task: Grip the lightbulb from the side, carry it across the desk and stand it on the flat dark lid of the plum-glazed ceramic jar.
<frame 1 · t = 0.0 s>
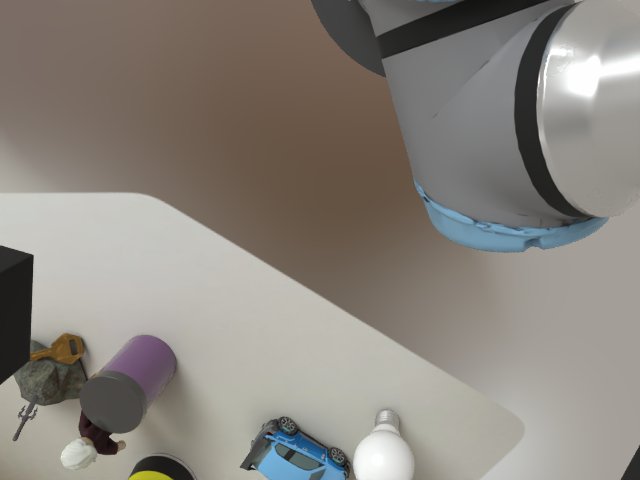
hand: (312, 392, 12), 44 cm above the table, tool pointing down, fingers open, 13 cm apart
sword in stone: (51, 369, 70), on the table, touching key
jar: (149, 359, 67), on the table
lightbulb: (387, 415, 64), on the table
toy car: (303, 446, 68), on the table
key: (48, 353, 67), point 2 cm above the table, touching sword in stone
grandmother figurine: (129, 393, 70), on the table
flashlight: (166, 479, 73), on the table
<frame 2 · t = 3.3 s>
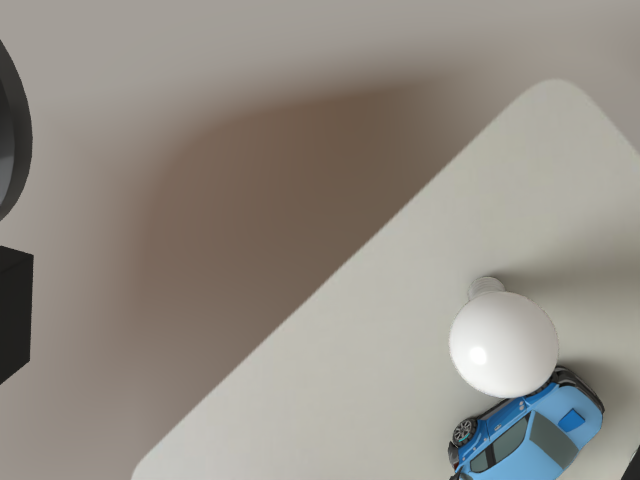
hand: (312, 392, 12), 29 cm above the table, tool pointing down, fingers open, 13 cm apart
lightbulb: (485, 288, 41), on the table
toy car: (518, 417, 44), on the table
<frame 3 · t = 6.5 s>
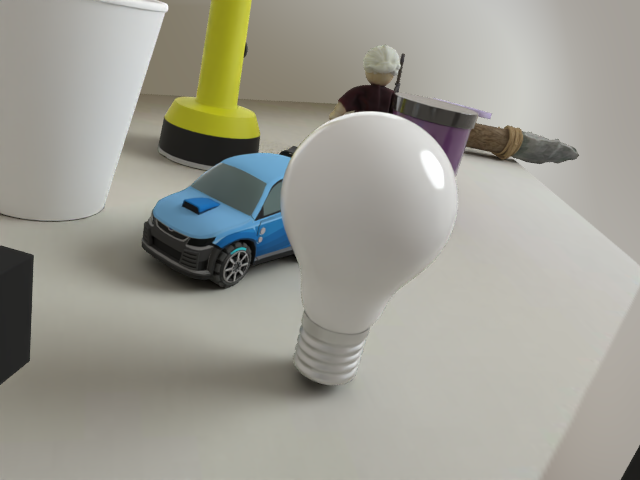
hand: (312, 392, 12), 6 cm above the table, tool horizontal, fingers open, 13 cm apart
jar: (406, 204, 50), on the table
lightbulb: (320, 381, 23), on the table
stone tool: (404, 123, 80), point 3 cm above the table
toy car: (242, 256, 32), on the table
grandmother figurine: (351, 183, 53), on the table
cup: (44, 201, 33), on the table
flashlight: (208, 158, 50), on the table
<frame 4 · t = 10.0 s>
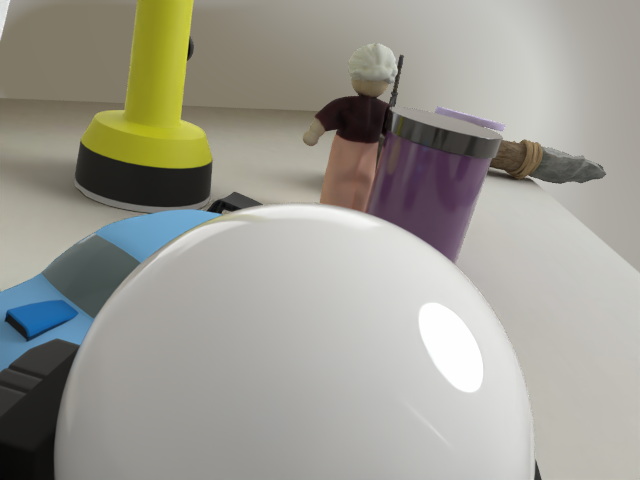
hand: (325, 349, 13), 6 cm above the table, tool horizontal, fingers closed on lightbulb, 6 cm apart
sword in stone: (370, 191, 51), on the table, touching key
jar: (404, 254, 38), on the table
stone tool: (403, 136, 68), point 3 cm above the table
toy car: (141, 375, 20), on the table
toy table: (458, 155, 79), on the table
grandmother figurine: (333, 221, 41), on the table
flashlight: (144, 191, 38), on the table
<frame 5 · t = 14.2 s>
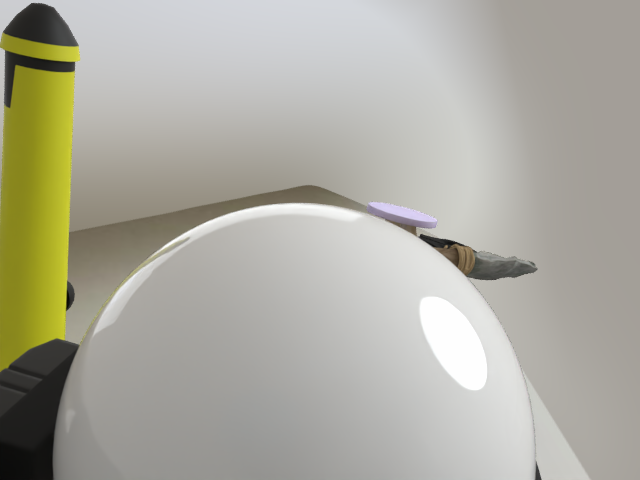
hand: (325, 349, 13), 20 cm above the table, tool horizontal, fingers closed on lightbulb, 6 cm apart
stone tool: (333, 253, 65), point 3 cm above the table
toy table: (391, 250, 77), on the table
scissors: (350, 214, 86), point 1 cm above the table
flashlight: (27, 443, 33), on the table
when the fingers open (15 cm above the table, at t = 18.4 s): lightbulb stays where it is, resting on jar.
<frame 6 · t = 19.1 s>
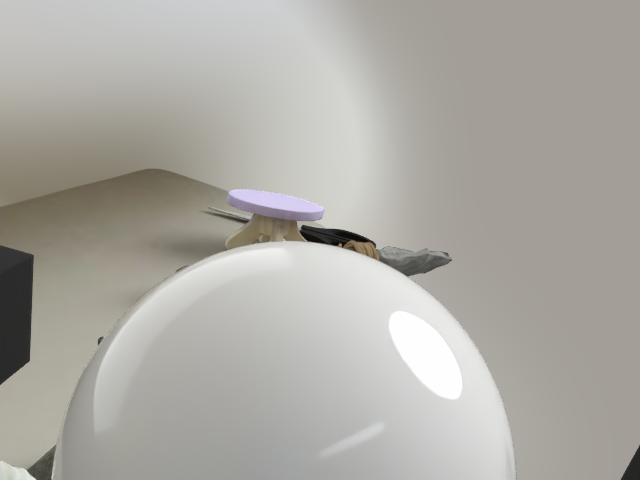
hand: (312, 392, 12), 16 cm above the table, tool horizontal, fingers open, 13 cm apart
stone tool: (179, 276, 43), point 3 cm above the table
toy table: (266, 254, 57), on the table
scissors: (208, 205, 64), point 1 cm above the table
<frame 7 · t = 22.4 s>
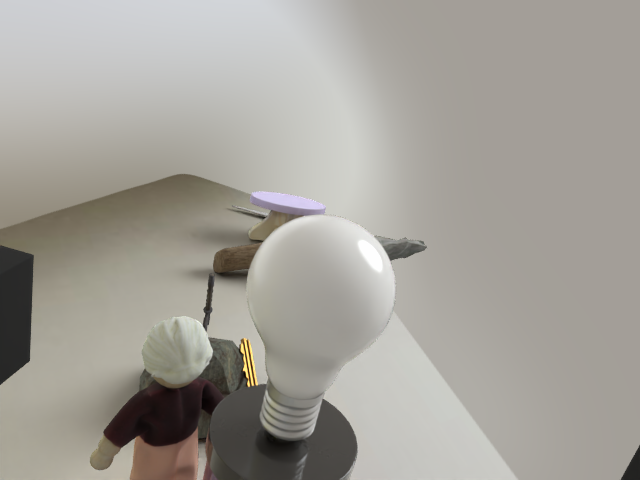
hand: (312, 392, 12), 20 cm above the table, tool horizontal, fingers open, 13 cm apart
sword in stone: (191, 395, 41), on the table, touching key
lightbulb: (283, 434, 26), point 9 cm above the table, touching jar
stone tool: (219, 256, 58), point 3 cm above the table
toy table: (280, 242, 72), on the table
key: (247, 390, 40), point 2 cm above the table, touching sword in stone
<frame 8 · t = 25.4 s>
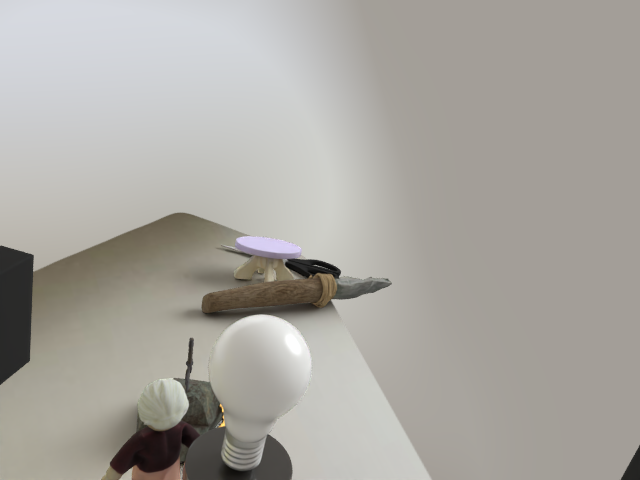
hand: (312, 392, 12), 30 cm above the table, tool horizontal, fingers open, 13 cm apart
sword in stone: (179, 425, 51), on the table, touching key
lightbulb: (239, 465, 37), point 9 cm above the table, touching jar
stone tool: (206, 299, 69), point 3 cm above the table
toy table: (262, 280, 83), on the table
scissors: (220, 243, 90), on the table
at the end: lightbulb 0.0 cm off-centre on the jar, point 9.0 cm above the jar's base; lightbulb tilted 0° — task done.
